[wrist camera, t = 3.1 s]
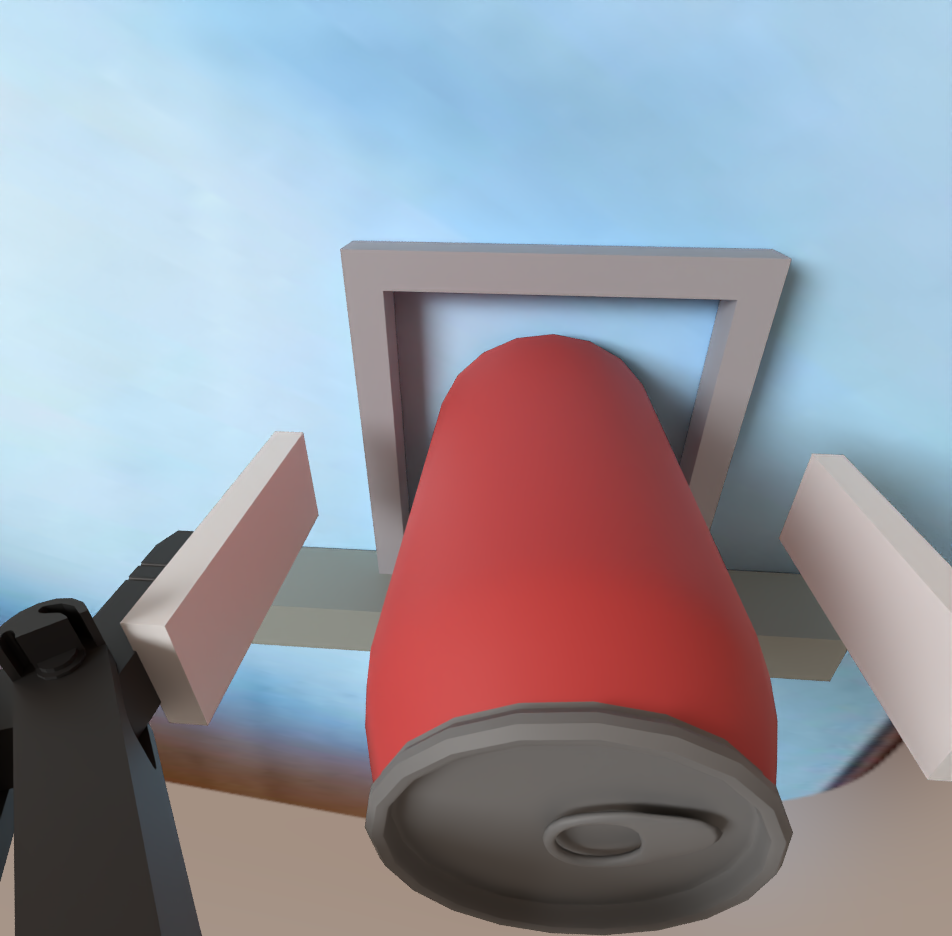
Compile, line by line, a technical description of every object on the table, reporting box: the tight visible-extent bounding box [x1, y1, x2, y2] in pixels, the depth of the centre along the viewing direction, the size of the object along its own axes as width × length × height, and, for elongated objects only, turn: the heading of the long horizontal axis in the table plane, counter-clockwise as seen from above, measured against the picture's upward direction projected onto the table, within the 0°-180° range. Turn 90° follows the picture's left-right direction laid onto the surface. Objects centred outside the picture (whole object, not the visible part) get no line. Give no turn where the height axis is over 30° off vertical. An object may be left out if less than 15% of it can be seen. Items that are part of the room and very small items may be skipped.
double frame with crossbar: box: [252, 241, 847, 681], centre depth 20 cm, size 20×24×3 cm
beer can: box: [365, 334, 793, 935], centre depth 12 cm, size 7×7×12 cm
